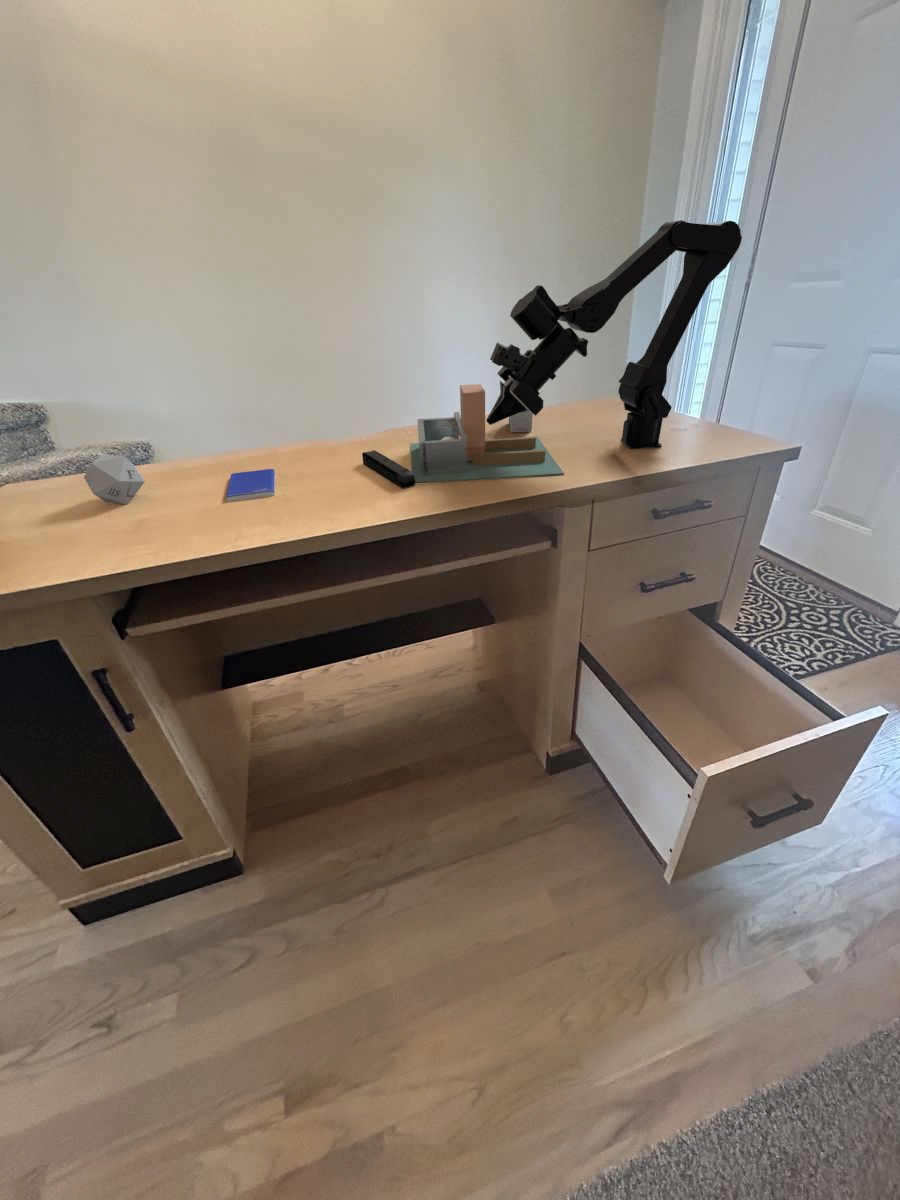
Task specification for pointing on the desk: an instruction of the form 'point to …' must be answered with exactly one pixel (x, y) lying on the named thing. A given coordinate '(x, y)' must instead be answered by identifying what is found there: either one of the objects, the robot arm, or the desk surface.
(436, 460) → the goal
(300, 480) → the desk surface
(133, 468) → the die
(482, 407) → the salmon orange block
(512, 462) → the plate
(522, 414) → the ink box
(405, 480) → the portable electronic device stand
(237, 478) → the hard drive
